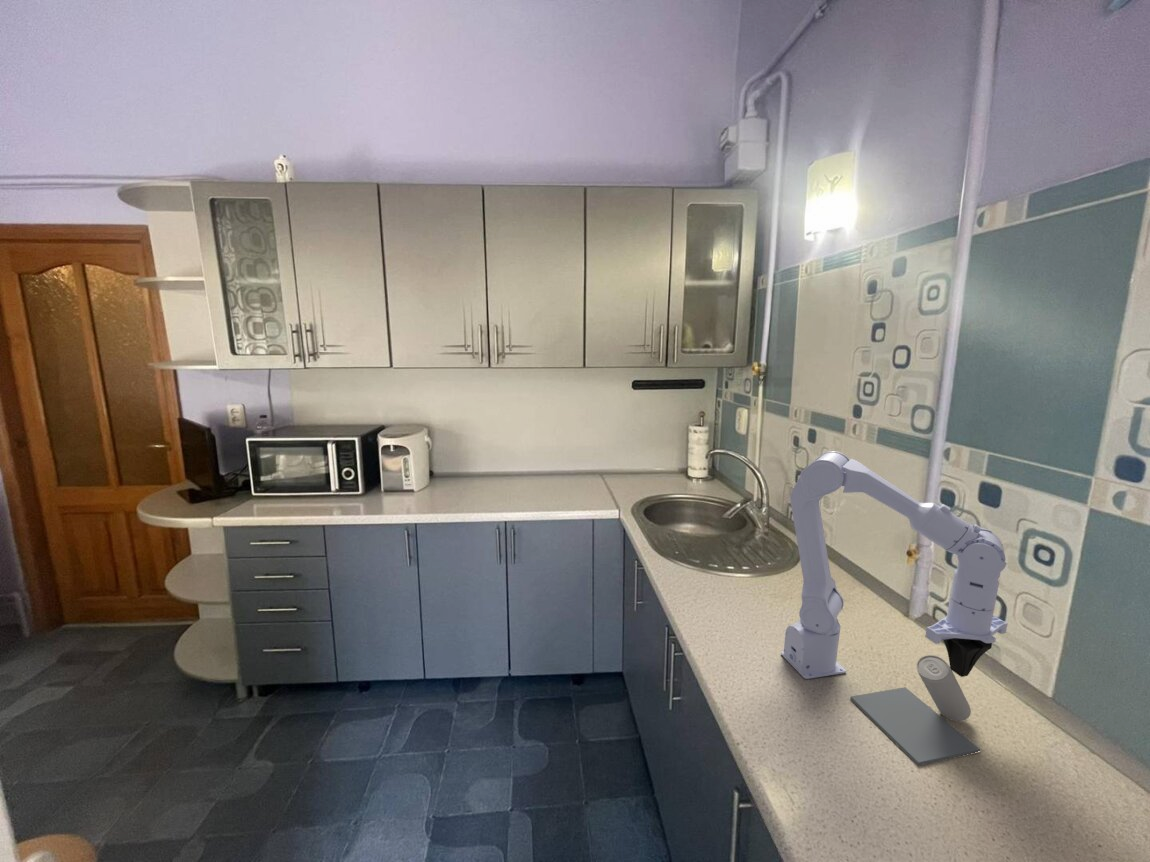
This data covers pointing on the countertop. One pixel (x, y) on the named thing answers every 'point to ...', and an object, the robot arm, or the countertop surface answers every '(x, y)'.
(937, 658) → the beverage can
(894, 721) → the mat
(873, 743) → the countertop surface
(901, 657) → the countertop surface
